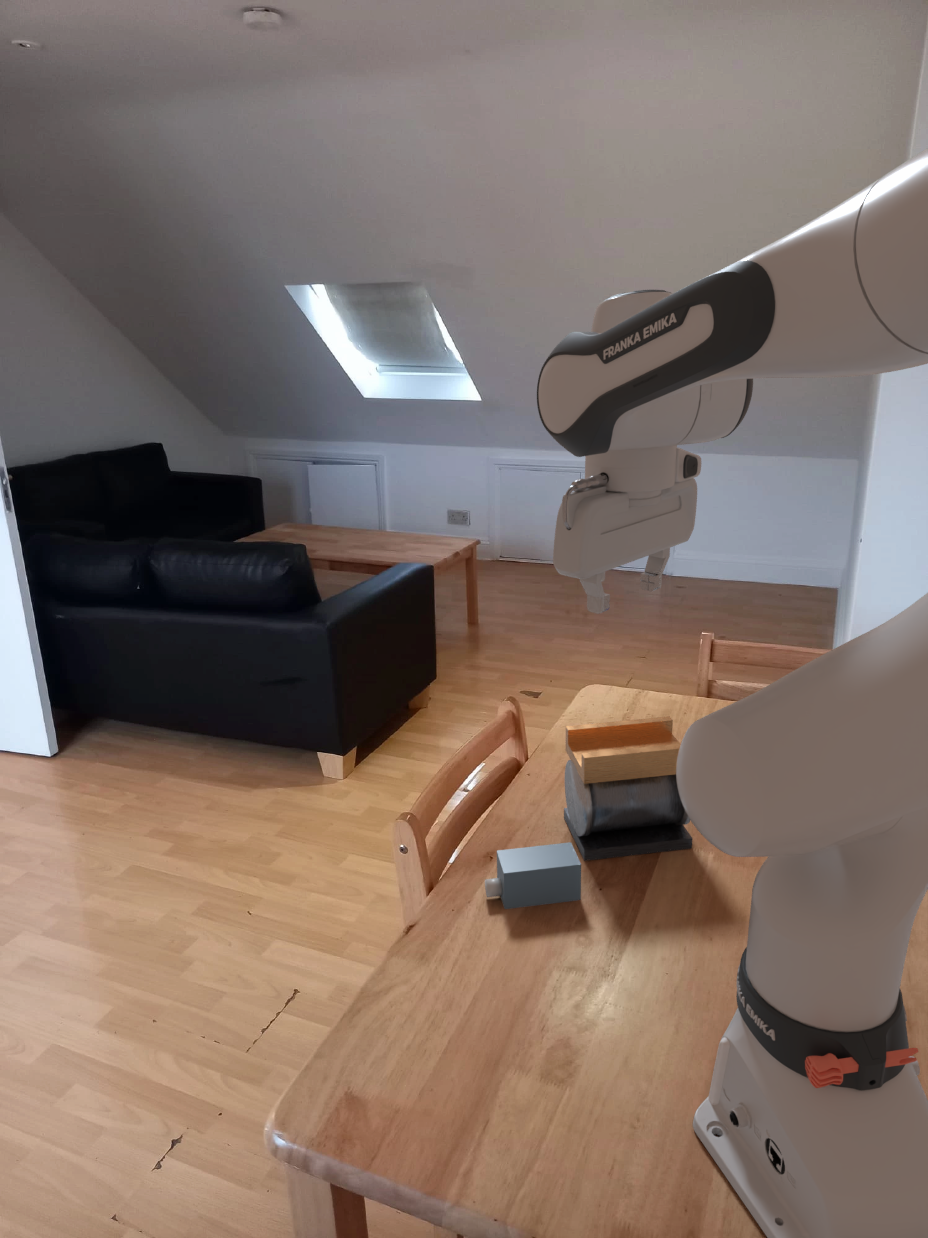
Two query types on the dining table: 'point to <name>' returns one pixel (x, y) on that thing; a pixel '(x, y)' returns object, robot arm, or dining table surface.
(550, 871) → the blue-grey rectangular block
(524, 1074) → the dining table surface
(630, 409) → the robot arm
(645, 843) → the wood-topped grey cylinder
